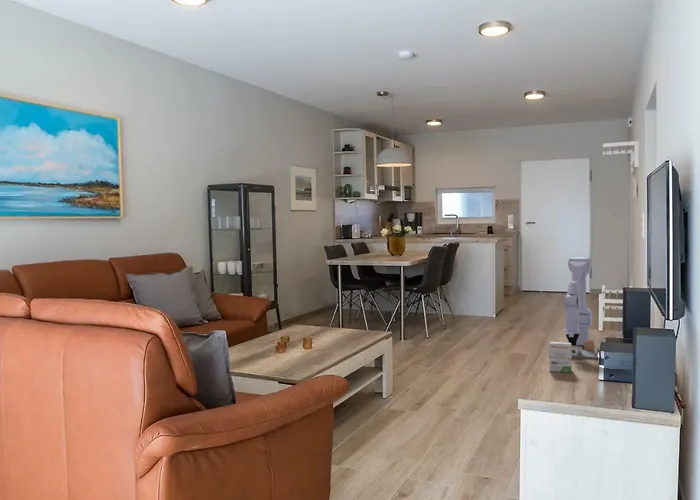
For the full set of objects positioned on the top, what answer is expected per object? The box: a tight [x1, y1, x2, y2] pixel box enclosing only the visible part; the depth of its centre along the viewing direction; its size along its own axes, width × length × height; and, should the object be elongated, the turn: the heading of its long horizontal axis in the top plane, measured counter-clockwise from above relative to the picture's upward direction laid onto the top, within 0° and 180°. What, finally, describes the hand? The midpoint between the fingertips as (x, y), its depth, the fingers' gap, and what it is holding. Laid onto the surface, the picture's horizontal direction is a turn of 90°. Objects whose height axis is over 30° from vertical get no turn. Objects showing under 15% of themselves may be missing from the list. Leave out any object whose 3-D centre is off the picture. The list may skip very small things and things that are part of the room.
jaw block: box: [584, 339, 595, 350], centre depth 276 cm, size 4×4×5 cm
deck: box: [571, 346, 599, 360], centre depth 269 cm, size 14×14×4 cm
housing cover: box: [571, 345, 579, 355], centre depth 268 cm, size 6×5×3 cm
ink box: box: [548, 341, 573, 374], centre depth 243 cm, size 8×5×12 cm, turn 65°
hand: (572, 349), depth 272 cm, fingers closed
